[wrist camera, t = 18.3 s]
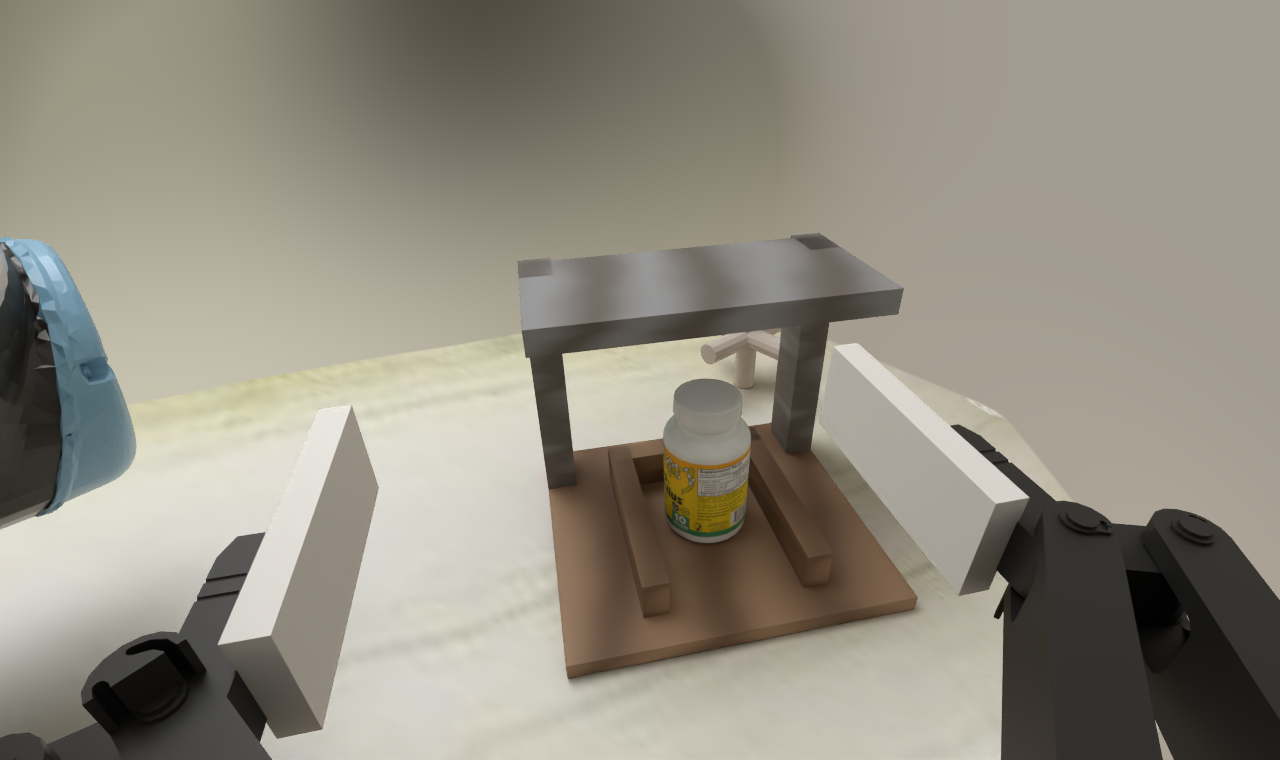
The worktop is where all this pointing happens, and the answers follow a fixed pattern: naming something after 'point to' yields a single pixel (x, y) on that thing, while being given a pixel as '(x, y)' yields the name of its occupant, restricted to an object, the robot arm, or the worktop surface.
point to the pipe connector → (743, 352)
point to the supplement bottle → (706, 461)
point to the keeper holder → (634, 473)
